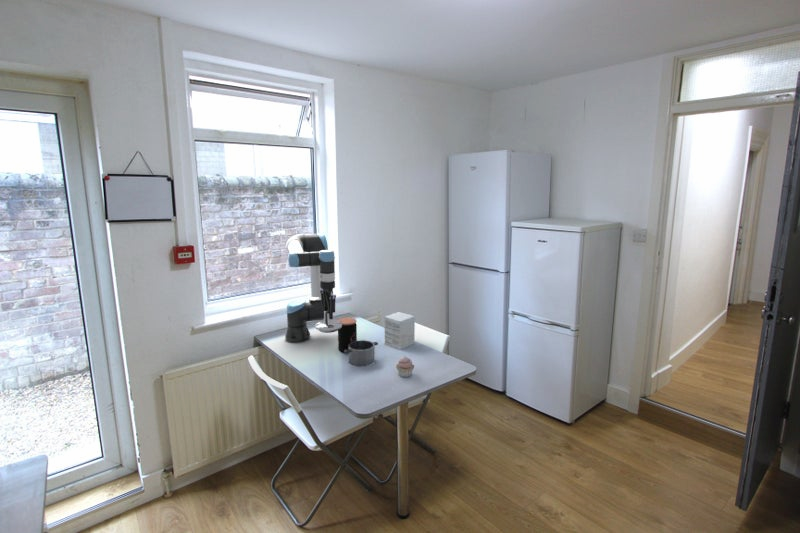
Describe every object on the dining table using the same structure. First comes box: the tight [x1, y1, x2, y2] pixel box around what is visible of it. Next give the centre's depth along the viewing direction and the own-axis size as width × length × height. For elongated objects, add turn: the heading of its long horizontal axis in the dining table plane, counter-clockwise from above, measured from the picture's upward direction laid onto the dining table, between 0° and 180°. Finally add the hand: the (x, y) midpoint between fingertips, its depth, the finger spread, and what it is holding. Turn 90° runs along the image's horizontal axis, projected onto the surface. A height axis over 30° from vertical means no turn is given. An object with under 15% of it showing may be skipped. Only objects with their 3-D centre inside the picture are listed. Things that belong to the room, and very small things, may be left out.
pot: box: [343, 339, 379, 367], centre depth 217 cm, size 20×14×9 cm
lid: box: [314, 310, 342, 334], centre depth 211 cm, size 14×14×10 cm
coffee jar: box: [337, 317, 358, 354], centre depth 230 cm, size 11×11×18 cm
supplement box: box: [384, 311, 416, 350], centre depth 240 cm, size 13×13×18 cm
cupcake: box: [395, 356, 415, 379], centre depth 201 cm, size 9×9×10 cm
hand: (328, 323), depth 211 cm, fingers closed on lid, 3 cm apart
